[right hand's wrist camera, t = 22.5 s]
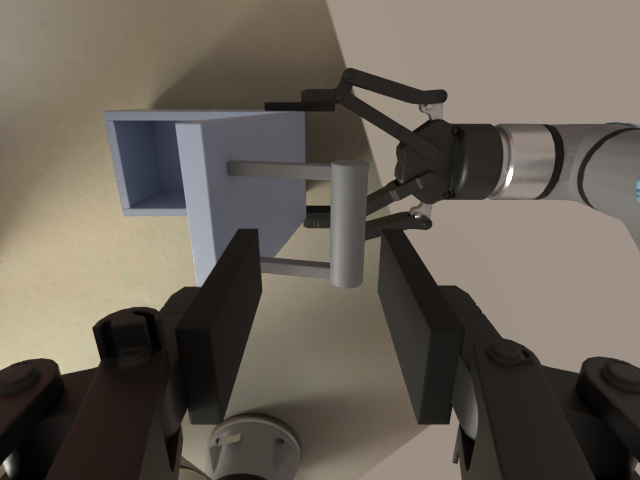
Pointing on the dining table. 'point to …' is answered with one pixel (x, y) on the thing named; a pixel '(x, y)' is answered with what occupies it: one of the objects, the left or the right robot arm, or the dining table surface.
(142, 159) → the chest
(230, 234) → the lid
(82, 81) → the dining table surface
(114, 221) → the dining table surface
